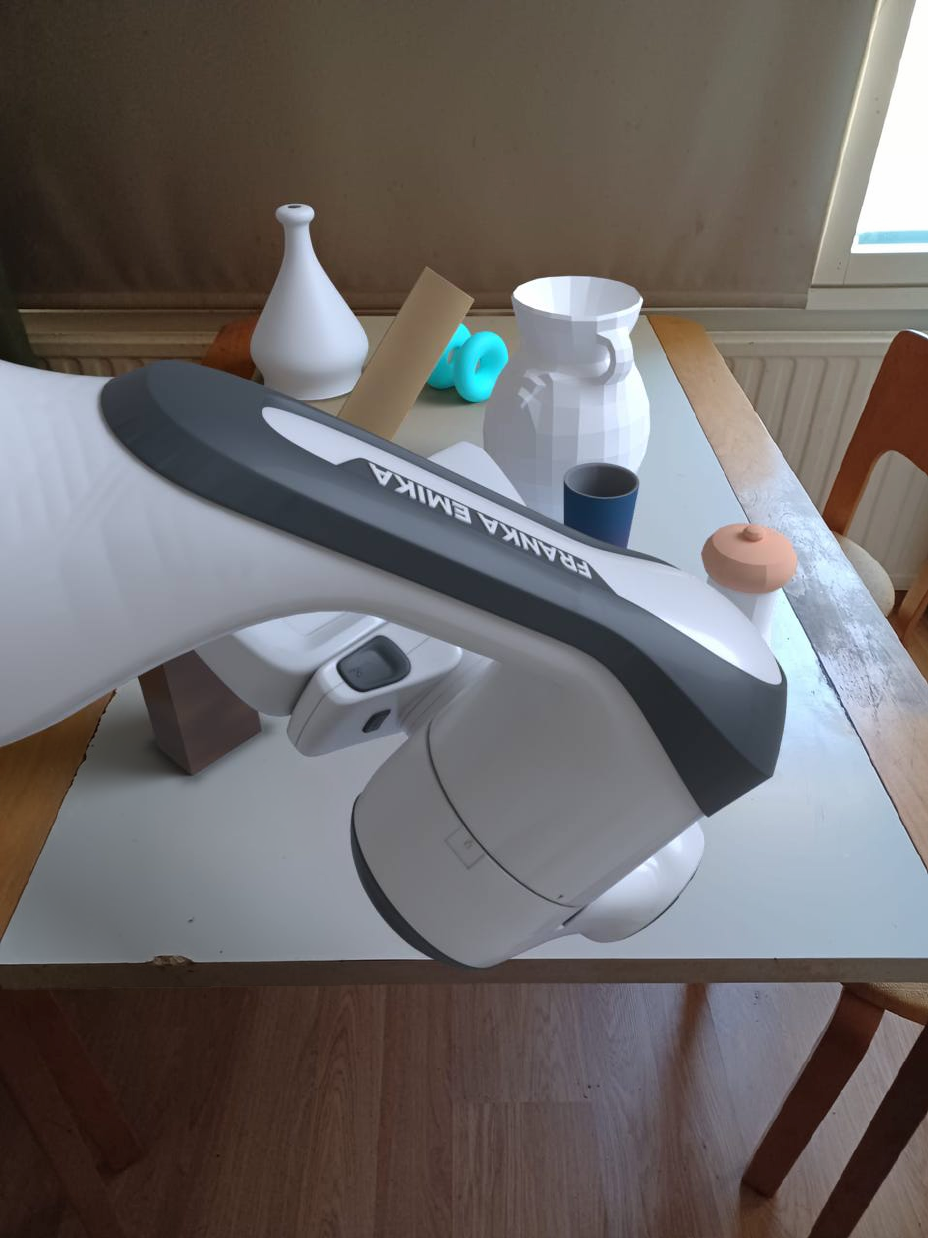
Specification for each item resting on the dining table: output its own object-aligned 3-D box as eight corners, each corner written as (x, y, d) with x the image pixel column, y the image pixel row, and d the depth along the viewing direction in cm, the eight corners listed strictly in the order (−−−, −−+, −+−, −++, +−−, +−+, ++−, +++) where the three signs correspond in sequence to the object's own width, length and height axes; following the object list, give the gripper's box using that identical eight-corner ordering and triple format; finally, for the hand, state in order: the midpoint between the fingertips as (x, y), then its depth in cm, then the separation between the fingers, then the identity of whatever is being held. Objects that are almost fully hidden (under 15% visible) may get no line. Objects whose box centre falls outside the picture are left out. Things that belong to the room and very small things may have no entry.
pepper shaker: (687, 679, 83) (722, 493, 71) (767, 706, 80) (817, 517, 68) (659, 727, 78) (691, 536, 66) (742, 758, 75) (792, 564, 63)
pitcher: (672, 520, 105) (706, 302, 90) (541, 566, 97) (554, 337, 82) (576, 457, 118) (591, 257, 103) (453, 493, 110) (450, 283, 95)
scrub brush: (478, 322, 50) (500, 301, 45) (340, 556, 50) (346, 561, 45) (401, 269, 49) (414, 242, 44) (259, 508, 49) (257, 508, 44)
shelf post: (193, 779, 73) (116, 495, 57) (158, 749, 76) (76, 470, 60) (262, 733, 77) (209, 457, 62) (227, 707, 80) (167, 436, 64)
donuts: (463, 374, 140) (462, 310, 134) (511, 392, 134) (513, 326, 128) (416, 394, 134) (413, 327, 128) (464, 413, 129) (464, 344, 123)
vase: (237, 400, 133) (206, 218, 118) (281, 357, 146) (259, 189, 131) (350, 410, 130) (333, 225, 115) (384, 365, 143) (374, 194, 128)
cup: (627, 634, 88) (644, 498, 79) (556, 633, 88) (566, 498, 79) (618, 593, 93) (634, 462, 84) (552, 593, 93) (560, 461, 84)
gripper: (593, 531, 50) (433, 357, 52) (306, 722, 38) (115, 485, 40) (544, 590, 55) (399, 429, 57) (276, 776, 43) (108, 562, 45)
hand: (279, 453), depth 49 cm, fingers closed on scrub brush, 5 cm apart
